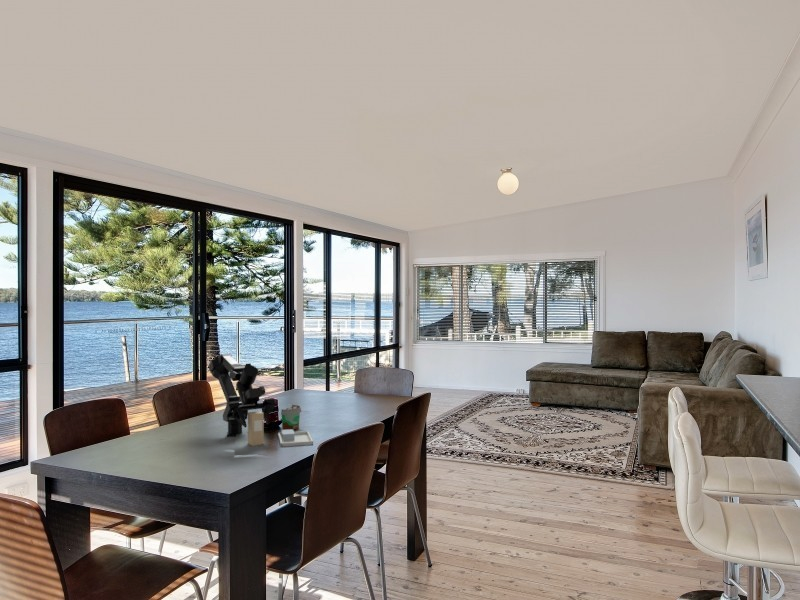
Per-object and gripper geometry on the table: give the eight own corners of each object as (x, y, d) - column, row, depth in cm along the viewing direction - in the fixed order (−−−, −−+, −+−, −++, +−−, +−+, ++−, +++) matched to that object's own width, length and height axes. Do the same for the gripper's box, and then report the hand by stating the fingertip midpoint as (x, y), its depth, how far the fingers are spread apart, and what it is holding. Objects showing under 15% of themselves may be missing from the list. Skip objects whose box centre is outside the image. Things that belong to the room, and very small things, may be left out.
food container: (295, 434, 236) (294, 410, 237) (281, 433, 238) (281, 409, 238) (305, 427, 249) (305, 404, 249) (292, 427, 250) (292, 404, 250)
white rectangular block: (281, 436, 230) (281, 430, 230) (292, 435, 231) (292, 429, 231) (282, 440, 222) (282, 434, 222) (294, 440, 223) (294, 433, 223)
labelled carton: (247, 443, 218) (247, 412, 218) (259, 442, 221) (259, 411, 221) (252, 446, 215) (252, 414, 215) (263, 444, 217) (263, 413, 217)
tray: (278, 437, 231) (278, 432, 231) (308, 435, 234) (308, 430, 234) (280, 448, 213) (280, 443, 213) (313, 446, 216) (313, 441, 216)
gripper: (227, 381, 215) (238, 415, 207) (274, 377, 226) (286, 409, 217) (221, 399, 222) (230, 433, 213) (266, 395, 233) (277, 426, 224)
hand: (257, 425), depth 217 cm, fingers open, 8 cm apart
